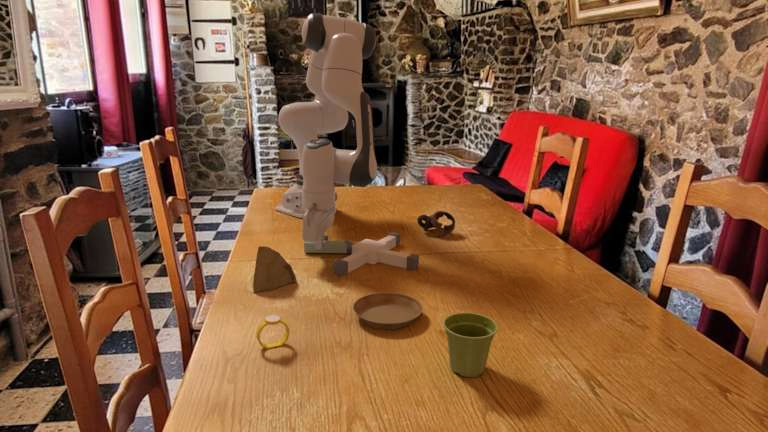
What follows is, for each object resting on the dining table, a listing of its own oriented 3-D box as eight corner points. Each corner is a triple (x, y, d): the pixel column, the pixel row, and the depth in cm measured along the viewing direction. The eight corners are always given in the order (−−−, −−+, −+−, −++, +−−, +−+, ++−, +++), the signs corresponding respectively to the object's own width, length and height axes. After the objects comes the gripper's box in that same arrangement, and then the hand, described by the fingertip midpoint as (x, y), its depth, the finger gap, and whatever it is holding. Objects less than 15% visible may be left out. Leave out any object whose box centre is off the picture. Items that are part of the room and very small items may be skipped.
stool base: (321, 270, 135) (321, 256, 133) (380, 240, 158) (380, 227, 157) (387, 288, 125) (387, 272, 124) (439, 252, 148) (440, 239, 147)
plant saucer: (370, 297, 120) (370, 287, 119) (431, 309, 115) (431, 299, 114) (340, 326, 107) (340, 314, 106) (407, 341, 101) (408, 329, 101)
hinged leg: (353, 250, 148) (353, 240, 147) (352, 253, 146) (352, 242, 145) (305, 249, 148) (305, 239, 148) (304, 252, 146) (304, 242, 145)
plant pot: (436, 354, 96) (438, 312, 94) (485, 353, 97) (489, 311, 95) (446, 384, 87) (448, 338, 85) (500, 382, 88) (504, 337, 86)
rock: (299, 266, 131) (259, 261, 130) (300, 247, 124) (258, 242, 123) (293, 304, 125) (251, 300, 124) (293, 287, 118) (249, 282, 117)
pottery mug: (448, 229, 172) (457, 211, 166) (448, 249, 165) (458, 232, 159) (413, 220, 170) (421, 202, 165) (412, 240, 163) (421, 222, 158)
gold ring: (286, 341, 101) (287, 313, 100) (290, 347, 99) (291, 319, 97) (255, 345, 98) (255, 316, 97) (258, 352, 96) (259, 323, 95)
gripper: (319, 210, 131) (320, 261, 134) (338, 192, 150) (338, 238, 154) (295, 208, 132) (296, 259, 135) (317, 191, 151) (318, 236, 155)
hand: (319, 248), depth 145 cm, fingers closed
